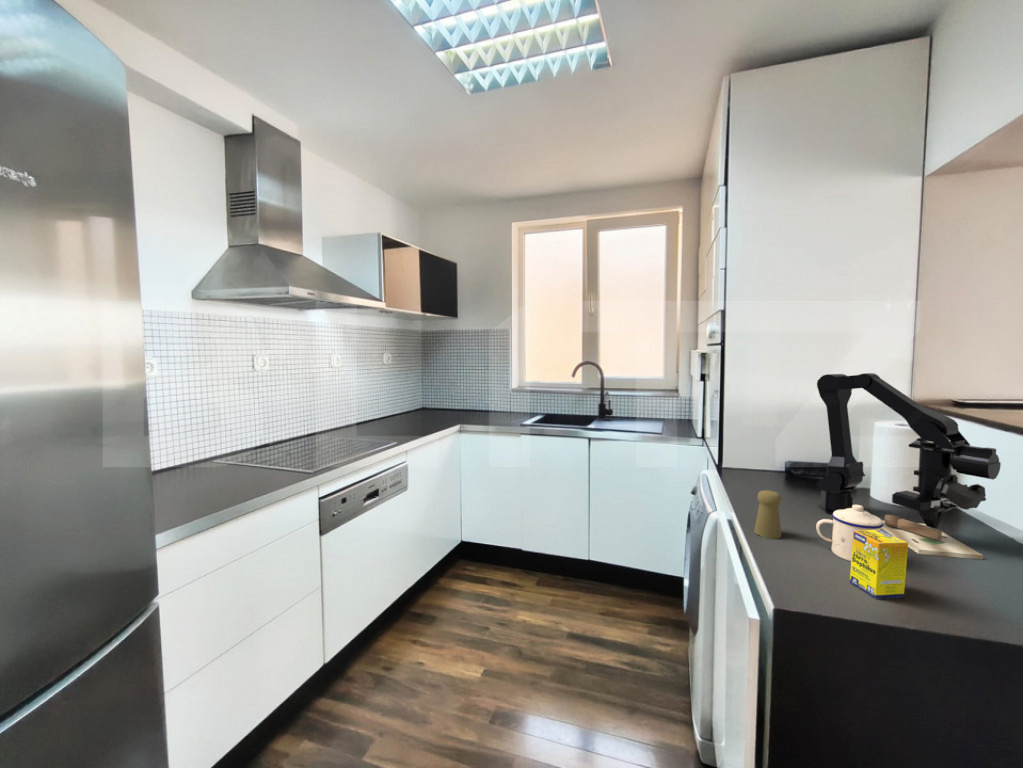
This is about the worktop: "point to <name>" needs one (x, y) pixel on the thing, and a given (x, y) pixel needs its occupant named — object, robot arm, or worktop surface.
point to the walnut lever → (913, 527)
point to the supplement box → (878, 563)
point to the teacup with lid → (848, 528)
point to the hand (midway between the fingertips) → (931, 531)
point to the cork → (768, 515)
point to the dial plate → (933, 544)
